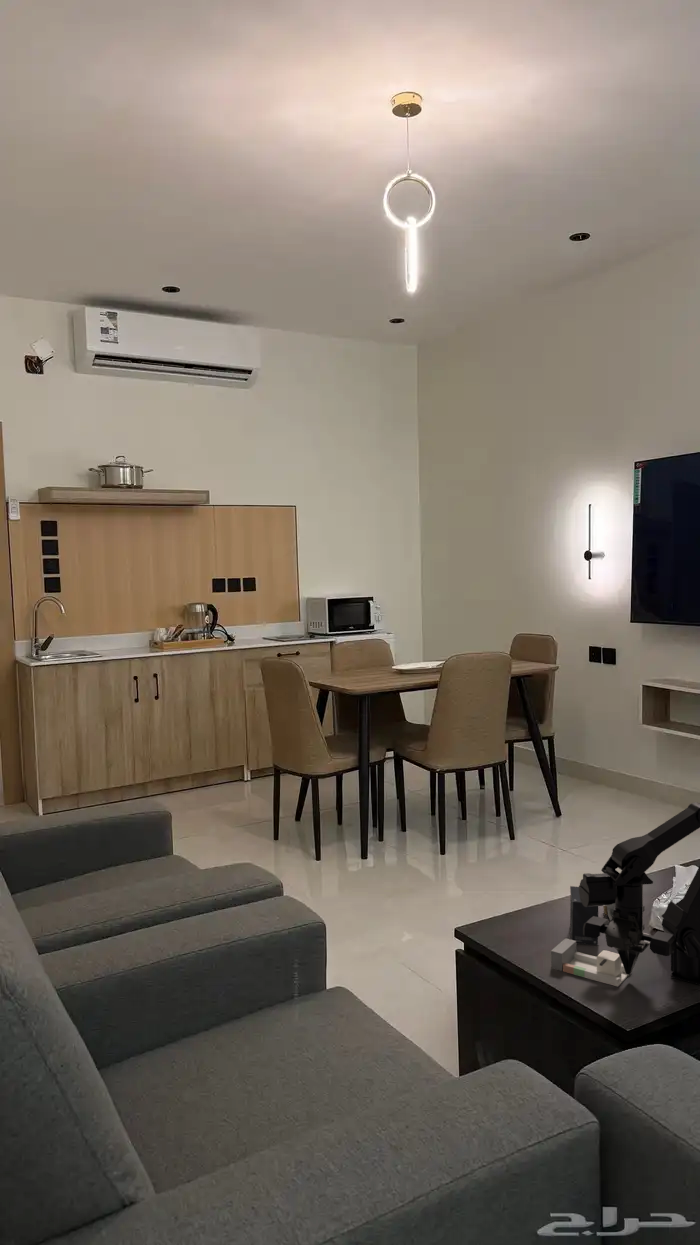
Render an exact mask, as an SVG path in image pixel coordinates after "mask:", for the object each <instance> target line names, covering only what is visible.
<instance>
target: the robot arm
mask: <svg viewBox="0 0 700 1245" xmlns="http://www.w3.org/2000/svg"><path fill="white" fill-rule="evenodd" d="M699 829H700V802H698V801H697V802H696V801H695V802H691V803H689V805H688V806H687V807H686V808H685V809H683V810H682V811H680V812H678V813H677V814H675V815H674V816H671V818H670V819H668V820H666V821H665V822H664V823H662V824H660V825H658V826H657V827H656V828H654V829H652V830H650V831H649V832H648V833H645V834H644V835H640V836H636V837H632V838H631V837H630V838H628V839H626V840H624V841H622V842H619V843H617V844H616V845H615V846H614V847H613V848H612V853H611V855H610V857H609V858H608V859H607V861H606V862H605V864H604V865H603V867H602V868H601V872H602V873H583V874H582V879H581V880H580V882H579V885H578V887H579V896H580V900H581V902H582V904H583V906H584V907H593V906H598V907H603V906H609V905H612V904H614V903H615V909H614V910H613V916H612V920H611V921H610V919H607V918H604V917H600V916H598V917H596V916H593V917H592V918H590V919H589V920H588V921H587V922H586V923H585V924H584V926H583V935H584V936H587V937H591V938H595V939H596V938H597V937H598V938H599V937H600V936H601V934H604V935H605V939H606V940H605V942H606V945H607V947H609V948H614V949H615V950H616V951H617V954H619V956H620V958H621V963H622V964H623V966H624V969H625V972H626V974H629V975H628V976H630V975H631V974H632V973H633V970H634V968H635V966H636V964H637V961H638V958H639V956H640V954H641V953H644V951H645V950H646V949H647V948H648V947H649V949H650V951H651V952H652V953H653V954H654V955H655V954H656V955H660V956H664V957H670V971H671V973H670V978H672V979H677V980H679V981H684V982H688V983H691V984H694V983H697V984H696V985H698V984H700V865H699V866H698V868H697V871H696V872H695V874H694V876H693V878H692V880H691V882H690V884H689V886H688V888H687V890H686V892H685V894H684V895H683V898H682V899H680V900H679V901H678V902H676V903H674V902H673V901H672V900H670V901H669V902H668V904H667V907H666V909H665V911H664V912H663V914H662V915H661V917H662V921H661V926H662V930H663V931H660V930H657V931H656V932H655V933H654V934H652V935H651V934H649V933H646V932H644V930H645V924H644V912H645V910H646V909H645V907H646V906H645V905H644V885H652V884H654V881H653V880H652V879H651V878H650V877H649V876H648V874H647V873H646V872H647V871H648V870H649V869H650V868H651V867H652V866H653V865H654V863H655V861H656V860H657V858H658V857H659V855H661V853H664V852H665V851H666V850H667V849H669V848H671V847H672V846H674V845H676V844H677V843H679V842H681V841H682V840H683V839H685V838H686V837H687V836H690V835H691V834H692V833H694V832H696V831H698V830H699ZM617 869H619V870H620V872H619V871H618V870H617Z"/></svg>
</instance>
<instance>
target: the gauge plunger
mask: <svg viewBox="0 0 700 1245" xmlns="http://www.w3.org/2000/svg"><path fill="white" fill-rule="evenodd" d="M596 957H597V972H601V973H604V974H608V975H612V976H615V977H617V976H618V975H619V974H620V973H621V963H622V961H621V958H620V956H619V953H618V952H617V953H616V952H612V951H609V950H606V949H605V950H604V949H603V950H602V951H601V952H600V953H599V954H598V955H597V956H596Z"/></svg>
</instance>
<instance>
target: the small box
mask: <svg viewBox="0 0 700 1245" xmlns="http://www.w3.org/2000/svg"><path fill="white" fill-rule="evenodd" d="M569 889H570V891H569V892H570V895H569V896H570V903H569V904H570V910H569V912H570V913H569V915H570V916H569V918H570V919H569V929H570V930H569V931H570V940H574V941H576V945H577V944H578V945H590V946H591V945H592V946H598V945H599V937H597V938H596V939H595V938H591V937H587V936H584V935H583V926H584V924H585V923H586V922H587V921H588V920H589V919H590V918H592V917H593V916H596V917H599V906H593V907H584V906H583V904H582V902H581V900H580V896H579V886H573V885H570V888H569Z"/></svg>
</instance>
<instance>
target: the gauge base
mask: <svg viewBox="0 0 700 1245" xmlns="http://www.w3.org/2000/svg"><path fill="white" fill-rule="evenodd" d="M550 962H551V963H550V965H551V966H550V969H552V970H557V971H560V972H564V973H568V974H572V975H575V976H577V977H578V976H579V977H582V978H586V979H588V980H592V981H597V982H600V983H604V984H606V985H611V986H615V987H617V988H618V987H619V986H621V984H622V983H623V982H624V981H625V980H626V979H627V978H628V976H630V975H629V974H626V972H625V969H624V966H623V963H622V962H621V973H620V974H619V975H618V976H617V977H615V976H612V975H608V974H604V973H601V972H597V956H594V955H591V954H587V953H583V952H579V951H577V944H576V941H574V940H571V938H566V937H565V938H564V939H563V940H562V941H561V942H559V943H558V944H557V945H556V946H555V947H554V948H552V949H551V951H550Z"/></svg>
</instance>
